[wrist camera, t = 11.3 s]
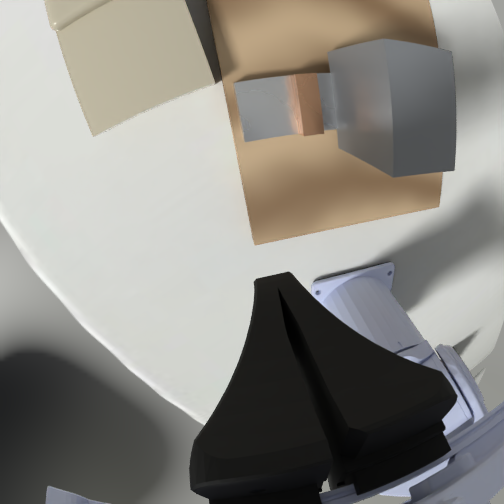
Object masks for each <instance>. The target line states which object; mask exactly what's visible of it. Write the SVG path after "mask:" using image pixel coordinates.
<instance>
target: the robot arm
mask: <svg viewBox="0 0 504 504" xmlns="http://www.w3.org/2000/svg"><path fill="white" fill-rule="evenodd" d="M394 269H395V265H394V264H393V263H392V262H388V263H385V264H381V265H377V266H373V267H370V268H366V269H362V270H358V271H354V272H351V273H347V274H343V275H339V276H335V277H331V278H327V279H323V280H319V281H315V282H314V283H313V284H312V286H311V292H312V295H311V294H310V293H309V292H308V291H307V290H306V289H305V288H304V287H303V286H302V285H301V283H300V282H299V281H298V280H297V279H296V278H295V277H294V275H293V274H292V273H290V272H285V273H280V274H276V275H272V276H267V277H262V278H258V279H256V280H255V281H254V304H253V310H252V316H251V321H250V326H249V330H248V333H247V337H246V341H245V344H244V347H243V350H242V353H241V356H240V359H239V361H238V364H237V367H236V369H235V371H234V373H233V376H232V378H231V380H230V382H229V385H228V387H227V389H226V391H225V392H224V394H223V396H222V398H221V400H220V401H219V403H218V405H217V407H216V409H215V410H214V412H213V414H212V415H211V417H210V418H209V420H208V421H207V423H206V424H205V426H204V427H203V429H202V430H201V431H200V433H199V435H198V436H197V437H196V439H195V440H194V444H193V448H192V452H191V458H190V467H189V471H190V487H191V490H192V491H193V492H195V493H196V494H199V495H201V496H203V497H205V498H208V499H209V504H353V503H356V502H359V501H361V500H364V499H367V498H370V497H372V496H375V495H377V494H380V495H388V496H411V499H410V500H408V501H405V502H403V503H401V504H490V501H489V500H490V499H491V498H493V496H495V495H496V494H497V493H498V492H499V491H500V490H501V489H502V488H503V487H504V401H503V402H502V403H501V404H499V405H498V406H497V407H496V408H494V409H493V410H492V411H490V412H489V413H488V411H487V409H486V407H485V404H484V402H483V401H484V400H483V396H482V394H481V391H480V390H479V387H478V385H477V384H476V382H475V380H474V378H473V377H472V375H471V373H470V372H469V370H468V368H467V367H466V365H465V364H464V362H463V361H462V359H461V358H460V357H459V355H458V354H457V353H456V351H455V350H454V349H453V348H452V347H451V346H449V345H443V344H439V345H438V346H437V347H436V348H435V350H436V352H437V353H438V355H439V357H440V358H441V361H442V362H441V361H440V359H439V358H438V356H437V355H436V353H435V352H434V350H433V349H432V347H431V346H430V344H429V343H428V341H427V340H424V338H423V337H422V335H421V334H420V332H419V331H418V329H417V328H416V326H415V325H414V324H413V322H412V321H411V319H410V318H409V316H408V315H407V314H406V312H405V311H404V309H403V308H402V307H401V305H400V304H399V303H398V301H397V300H396V299H395V297H394V296H393V294H392V293H391V288H392V282H393V276H394ZM389 271H390V272H389ZM388 272H389V273H388ZM318 290H319V291H318ZM316 291H318V292H316ZM442 363H443V364H442ZM444 366H445V367H444ZM445 368H446V369H445ZM447 371H448V372H447ZM327 478H328V482H329V487H330V490H331V491H328V492H324V493H321V494H319V492H322V485H323V482H324V481H326V480H327ZM46 504H109V503H103V502H98V501H93V500H89V499H87V498H85V497H83V496H80V495H77V494H74V493H71V492H68V491H64V490H61V489H57V488H54V487H50V486H49V487H47V496H46Z"/></svg>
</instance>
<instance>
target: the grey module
mask: <svg viewBox="0 0 504 504" xmlns="http://www.w3.org/2000/svg"><path fill="white" fill-rule="evenodd" d="M327 54H328V61H329V67H330V74H331V81H332V89H333V97H334V106H335V115H336V125H337V137H338V148H339V149H341V150H343V151H345V152H347V153H349V154H351V155H353V156H355V157H357V158H359V159H361V160H362V161H364V162H366V163H368V164H370V165H372V166H373V167H375V168H377V169H379V170H380V171H382V172H384V173H386V174H387V175H389V176H391V177H393V178H396V177H403V176H411V175H419V174H428V173H437V172H446V171H454V169H455V154H456V93H455V78H454V68H453V59H452V52H451V51H448V50H444V49H439V48H435V47H431V46H426V45H421V44H416V43H410V42H404V41H398V40H391V39H379V40H374V41H369V42H364V43H360V44H356V45H352V46H348V47H344V48H340V49H336V50H333V51H329V52H327Z"/></svg>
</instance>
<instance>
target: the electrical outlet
mask: <svg viewBox="0 0 504 504" xmlns="http://www.w3.org/2000/svg"><path fill="white" fill-rule="evenodd" d="M44 2H45V6H46V11H47V15H48V19H49V23H50V27H51V28H52V30H54V31H56V33H57V37H58V40H59V44H60V47H61V50H62V54H63V57H64V60H65V63H66V66H67V69H68V72H69V75H70V78H71V81H72V84H73V87H74V90H75V92H76V95H77V98H78V100H79V103H80V106H81V108H82V111H83V113H84V116H85V118H86V121H87V123H88V126H89V128H90V131H91V133H92V136H93V137H94V136H96V135H99V134H101V133H103V132H106V131H108V130H110V129H112V128H114V127H116V126H118V125H120V124H122V123H124V122H126V121H128V120H130V119H132V118H134V117H136V116H138V115H140V114H142V113H145V112H147V111H149V110H151V109H153V108H156V107H158V106H160V105H163V104H165V103H167V102H170V101H172V100H175V99H177V98H180V97H182V96H185V95H188V94H190V93H193V92H196V91H198V90H201V89H204V88H207V87H210V86H213V85H215V80H214V78H213V75H212V72H211V69H210V66H209V64H208V61H207V58H206V55H205V53H204V50H203V47H202V45H201V42H200V39H199V36H198V34H197V31H196V28H195V26H194V23H193V20H192V18H191V15H190V12H189V10H188V7H187V5H186V2H185V0H44Z"/></svg>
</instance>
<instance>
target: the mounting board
mask: <svg viewBox="0 0 504 504" xmlns="http://www.w3.org/2000/svg"><path fill="white" fill-rule="evenodd" d="M206 2H207V7H208V12H209V17H210V22H211V27H212V32H213V37H214V42H215V47H216V52H217V57H218V62H219V67H220V72H221V77H222V82H223V87H224V92H225V97H226V102H227V108H228V113H229V118H230V123H231V128H232V133H233V138H234V143H235V149H236V154H237V159H238V164H239V169H240V174H241V180H242V185H243V190H244V195H245V200H246V205H247V211H248V216H249V221H250V226H251V232H252V237H253V241H254V244H255V245H260V244H264V243H269V242H274V241H278V240H283V239H288V238H292V237H297V236H302V235H306V234H311V233H316V232H321V231H325V230H330V229H335V228H340V227H344V226H349V225H354V224H359V223H364V222H368V221H373V220H378V219H383V218H388V217H392V216H397V215H402V214H407V213H412V212H417V211H422V210H427V209H431V208H436V207H439V204H440V195H441V185H442V172H437V173H428V174H419V175H411V176H403V177H396V178H393V177H391V176H389V175H387V174H386V173H384V172H382V171H380V170H379V169H377V168H375V167H373V166H372V165H370V164H368V163H366V162H364V161H362V160H361V159H359V158H357V157H355V156H353V155H351V154H349V153H347V152H345V151H343V150H341V149H339V148H338V137H337V129H335V130H325V131H324V134H319V135H311V136H302V135H300V134H293V135H287V136H280V137H274V138H268V139H262V140H256V141H250V142H244V140H243V136H242V130H241V125H240V120H239V114H238V109H237V104H236V99H235V93H234V88H233V83H236V82H242V81H248V80H255V79H262V78H270V77H279V76H289V75H294V74H306V73H330V67H329V61H328V54H327V52H329V51H333V50H336V49H340V48H344V47H348V46H352V45H356V44H360V43H364V42H369V41H374V40H379V39H391V40H398V41H404V42H410V43H416V44H421V45H426V46H431V47H435V48H438V43H437V37H436V32H435V26H434V21H433V16H432V12H431V8H430V3H429V0H206Z"/></svg>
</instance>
